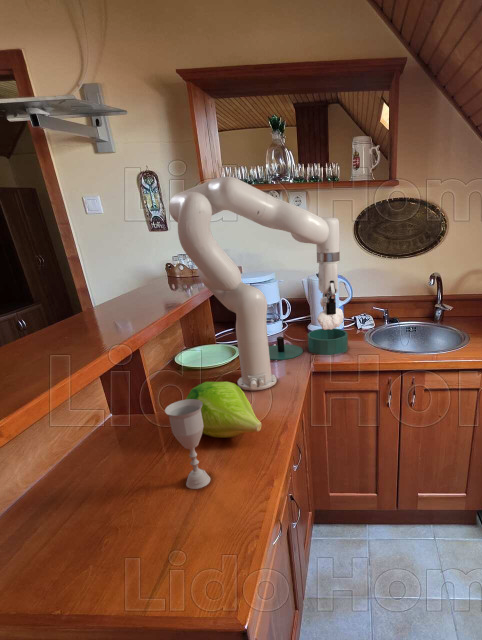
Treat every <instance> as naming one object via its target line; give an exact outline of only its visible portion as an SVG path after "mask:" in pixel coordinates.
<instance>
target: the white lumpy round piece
mask: <svg viewBox="0 0 482 640" xmlns="http://www.w3.org/2000/svg"><path fill="white" fill-rule="evenodd" d="M319 302H320V307H321V308H323V306H324V310H323V309H322V311H320V312H319V314H318V315H317V318H316V320H317V323H318V324H319V325H320V327H321V329H323V330H327V329H333V328H336V329H337V328H339V327H340V326H341V324H343V322H344V319H345V315H344V312H343V309H342V308H340V307H336V314H330V315H327V313H326V303H327V297H323V296H322V297H321V298H320V301H319Z"/></svg>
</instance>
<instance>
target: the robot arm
mask: <svg viewBox="0 0 482 640" xmlns="http://www.w3.org/2000/svg"><path fill="white" fill-rule="evenodd" d="M222 211H229V212H231V213H234V214H235V215H237V216H240V217H243V218H245V219H247V220H250V221H251V222H254V223H256V224H258V225H260V226H262V227H265V228H268V229H273V230H279V231H283V232H287V233H290V235H291V237H292V238H293V239H294V241H297V242H299V243H302V244H312V245H316V263H317V264H318V290H319V292H321V293H322V298H323V297H327V303H326V313H327V315H330V314H336V308H337V299H336V296H337V293H338V292H339V291H338V290H339V278H338V277H339V275H338V273H339V272H338V264H339V263H340V262H341V259H340V258H341V257H340V220H339V218H337V217H335V216H334V217H333V216H329V217H320V216H319V215H318V214H315V213H313V212H311V211H309V210H307V209H305V208H302V207H300V206H297V205H294V204H292V203H290V202H287V201H285V200H282V199H280V198H277V197H275V196H272V195H270V194H269V193H267V192H265V191H262V189H259V188H257V187H255V186H253V185H251V184H249V183H247V182H245V181H243V180H241V179H239V178H237V177H234V176H229V175H228V176H220V177H216V178H212V179H210V180H208V181H206V182H203V183H201V184H198V185H195V186H193V187H191V188H188V189H185V190H182V191H180V192H177V193H176V194H174V195H173V196H172V197H171V198H170V200H169V203H168V212H169V214H170V216H171V218H172V220H174V221H175V222H176V224H177V236H178V240H179V243H180V246H181V248H182V250H183V251H184V253H185V254H186V255H187V257H188V259H190V261H192V263H193V264H194V265H195V266H196V267H197V274H198V277H199V280H200V281H201V282H202V283H203V285H204V286H205V287H206V288H207V290H208V291H210V293H211V294H212V295H213V296H214V297H215V298H216V299H217V300H218V301H219V302H220V303H221V304H222V305H223V306H224V307H225V308H226V309H227V310H228V311H230V312H233V313H235V316H236V318H235V319H236V320H235V335H236V342H237V343H236V345H237V351H238V358H239V367H240V375H241V377H239V378H238V380H237V386H238V387H240V389H241V390H243V391H244V390H245V391H262V390H266V389H269V388H272V387H273V386H274V385H276V384H277V376H276V375H275V374H273V373H272V369H271V360H270V356H269V346H270V345H269V337H268V326H267V324H268V323H267V319H268V318H267V315H268V300H267V298H266V296H265V294H264V293H263V292H262V290H260V289H259V288H257V287H256V286H253V285H251V284H246V283H244V282H243V281H242V273H241V270H240V269H239V267H238V265H237V264H236V262H234V260H232V259H231V257H230V256H229V255H228V254H227V253H226V252H225V250H224V249H223V248H222V247H221V246H220V245H219V243H218V241H217V240H216V239H215V237H214V236H213V234H212V231H211V221H212V216H214V215H216V214H218V213H220V212H222ZM323 310H324V306H323V307H322V311H323Z"/></svg>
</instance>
